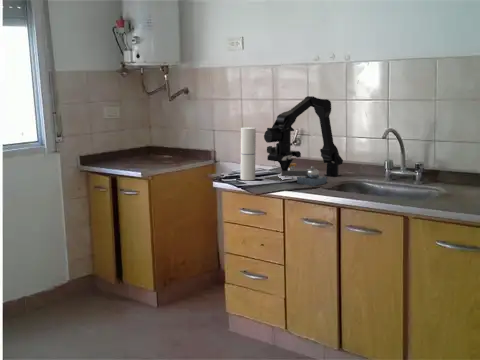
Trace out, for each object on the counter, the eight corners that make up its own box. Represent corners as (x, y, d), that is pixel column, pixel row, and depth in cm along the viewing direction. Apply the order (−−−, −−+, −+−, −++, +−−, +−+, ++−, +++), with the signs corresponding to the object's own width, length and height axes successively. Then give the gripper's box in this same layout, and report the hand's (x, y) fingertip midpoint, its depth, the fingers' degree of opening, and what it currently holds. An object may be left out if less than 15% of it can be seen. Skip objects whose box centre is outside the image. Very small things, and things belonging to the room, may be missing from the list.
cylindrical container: (238, 179, 280) (238, 128, 275) (243, 177, 286) (244, 127, 282) (252, 180, 277) (252, 128, 273) (257, 178, 284) (257, 127, 279)
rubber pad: (277, 176, 291) (277, 175, 291) (293, 178, 284) (293, 177, 284) (264, 178, 283) (264, 177, 283) (280, 181, 277) (280, 180, 277)
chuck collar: (317, 175, 274) (317, 165, 274) (319, 177, 268) (320, 167, 267) (280, 175, 274) (280, 165, 273) (282, 177, 267) (282, 167, 267)
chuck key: (292, 174, 296) (292, 163, 294) (297, 175, 293) (297, 163, 292) (285, 175, 291) (285, 164, 290) (289, 176, 289) (290, 164, 288)
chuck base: (309, 180, 279) (309, 174, 278) (326, 183, 272) (326, 176, 272) (296, 183, 271) (297, 176, 271) (314, 185, 265) (314, 179, 264)
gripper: (283, 138, 282) (283, 169, 285) (258, 141, 269) (258, 174, 272) (301, 139, 275) (301, 171, 278) (277, 143, 261) (276, 177, 264)
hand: (284, 173), depth 273 cm, fingers closed
